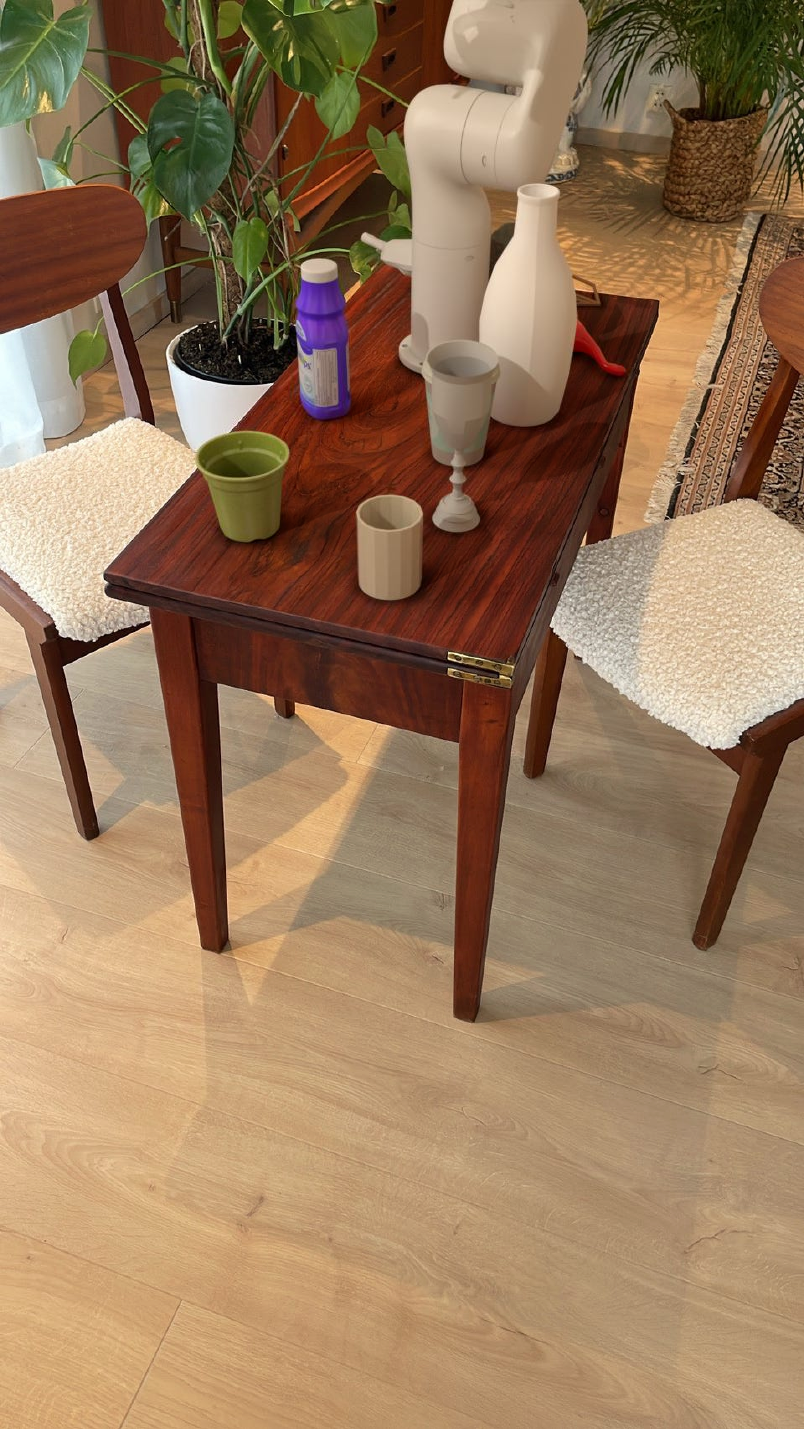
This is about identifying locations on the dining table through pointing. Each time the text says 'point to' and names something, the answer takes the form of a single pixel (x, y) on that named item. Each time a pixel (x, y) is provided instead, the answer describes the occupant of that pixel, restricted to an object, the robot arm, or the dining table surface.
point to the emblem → (584, 300)
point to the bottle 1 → (322, 342)
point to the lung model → (393, 252)
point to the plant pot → (245, 482)
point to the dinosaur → (594, 350)
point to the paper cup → (389, 546)
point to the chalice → (460, 418)
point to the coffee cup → (438, 443)
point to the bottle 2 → (531, 314)
